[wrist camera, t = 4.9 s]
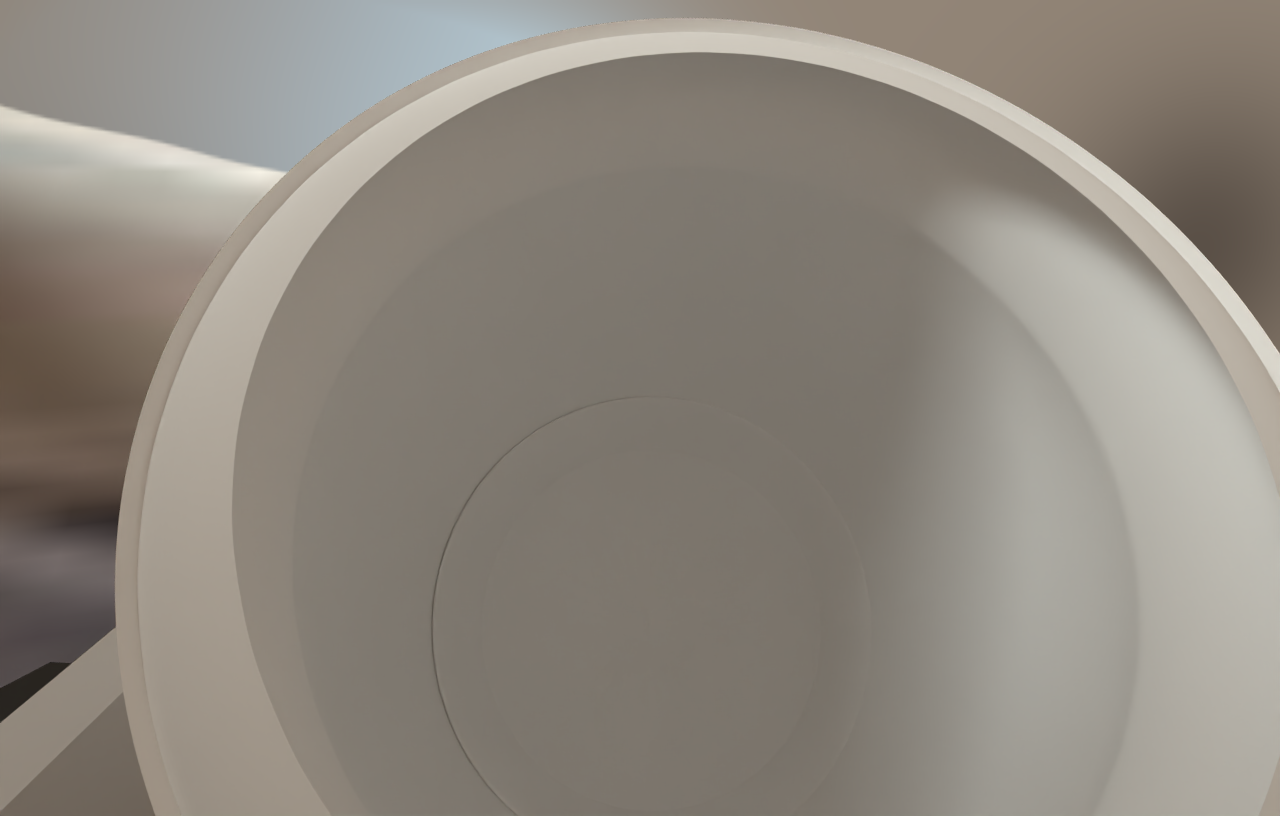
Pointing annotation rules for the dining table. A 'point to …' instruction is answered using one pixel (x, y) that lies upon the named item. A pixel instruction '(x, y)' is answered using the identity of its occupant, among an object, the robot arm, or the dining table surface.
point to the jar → (705, 461)
